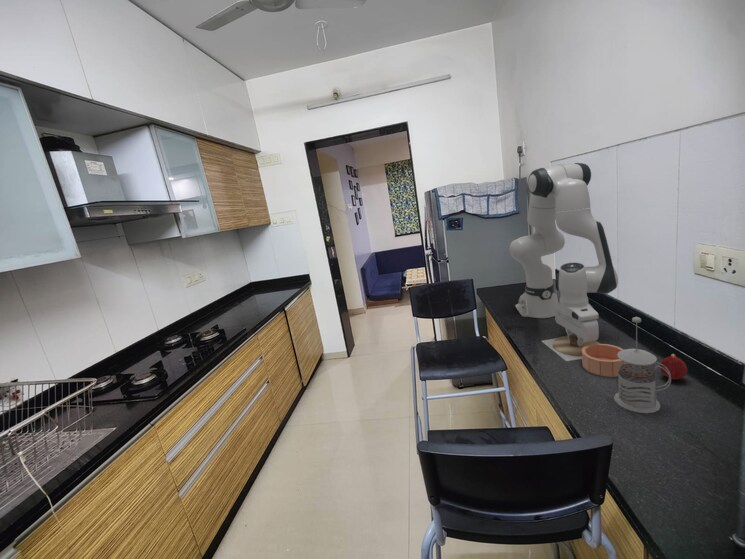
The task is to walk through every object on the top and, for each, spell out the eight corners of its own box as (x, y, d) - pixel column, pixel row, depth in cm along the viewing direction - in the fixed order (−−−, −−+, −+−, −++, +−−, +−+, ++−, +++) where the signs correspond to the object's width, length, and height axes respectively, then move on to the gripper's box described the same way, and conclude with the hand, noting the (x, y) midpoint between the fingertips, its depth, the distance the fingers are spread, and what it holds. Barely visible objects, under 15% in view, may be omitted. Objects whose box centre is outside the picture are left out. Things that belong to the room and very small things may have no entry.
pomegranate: (692, 384, 88) (693, 358, 87) (668, 385, 90) (668, 360, 88) (677, 373, 94) (678, 349, 92) (654, 374, 95) (655, 350, 94)
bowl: (574, 361, 109) (573, 347, 108) (609, 355, 109) (609, 341, 107) (598, 380, 98) (598, 364, 96) (638, 373, 97) (638, 357, 96)
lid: (544, 341, 125) (544, 332, 124) (582, 334, 125) (582, 326, 124) (567, 359, 111) (567, 349, 110) (610, 352, 110) (610, 342, 109)
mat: (541, 341, 126) (541, 340, 126) (583, 334, 126) (583, 333, 126) (566, 362, 110) (566, 361, 110) (615, 353, 109) (615, 352, 109)
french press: (614, 387, 93) (613, 309, 87) (668, 397, 86) (671, 311, 80) (612, 407, 86) (611, 322, 80) (671, 419, 78) (674, 327, 73)
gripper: (549, 300, 124) (551, 332, 128) (583, 318, 104) (584, 356, 108) (565, 298, 124) (567, 330, 127) (602, 315, 104) (603, 353, 107)
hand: (575, 342), depth 117 cm, fingers closed on lid, 3 cm apart
